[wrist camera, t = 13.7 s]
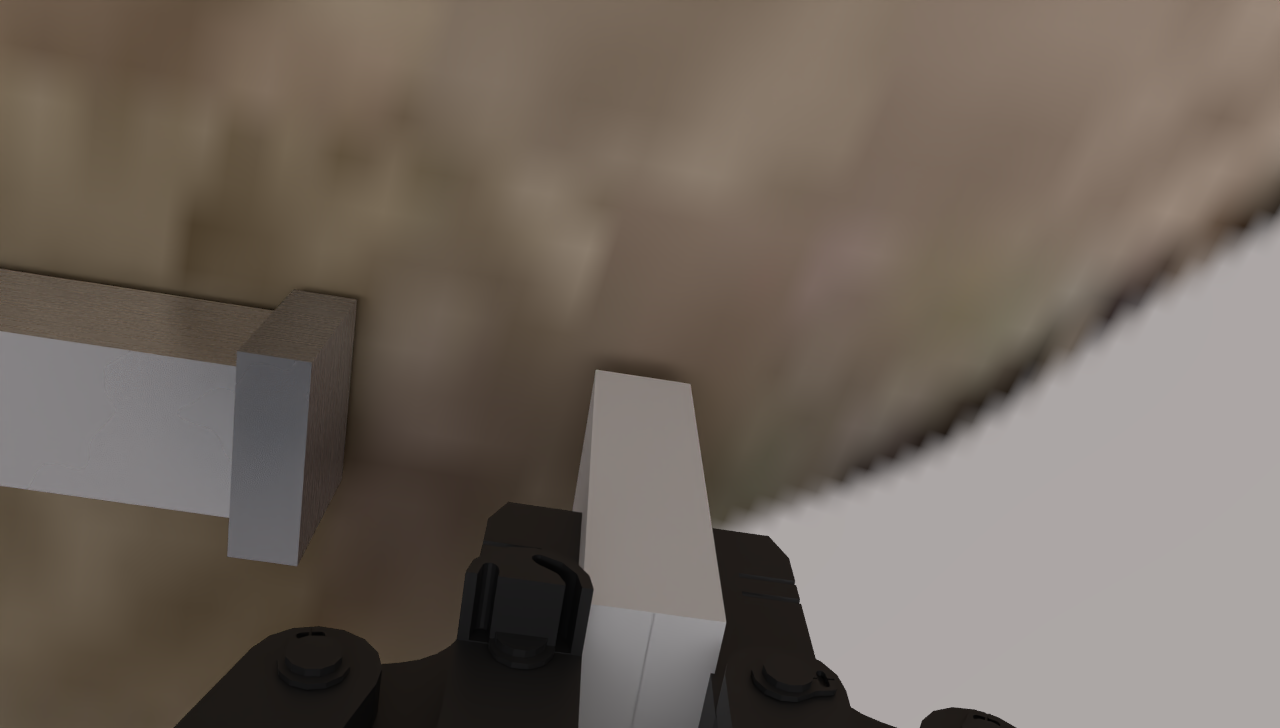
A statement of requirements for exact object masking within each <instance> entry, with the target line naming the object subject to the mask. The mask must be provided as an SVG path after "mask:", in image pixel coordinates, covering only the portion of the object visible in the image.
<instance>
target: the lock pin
mask: <svg viewBox="0 0 1280 728" xmlns="http://www.w3.org/2000/svg"><path fill="white" fill-rule="evenodd" d="M356 307H357V299H351V298H344V297H338V296H332V295H325V294H319V293H312V292H306V291H299V290H293V291H292V292H291V293H290V294H289V295H288V296H287V297H286V298H285V299H284V300H283V301H282V303H281V304H280V305H279V306H278V307H277V308H276V309H275V310H274V311H273V310H266V309H260V308H253V307H247V306H240V305H234V304H227V303H221V302H214V301H208V300H201V299H195V298H188V297H182V296H175V295H169V294H162V293H156V292H149V291H143V290H136V289H130V288H123V287H117V286H110V285H103V284H97V283H90V282H84V281H77V280H71V279H64V278H58V277H51V276H45V275H38V274H32V273H25V272H19V271H12V270H6V269H0V486H6V487H13V488H20V489H28V490H35V491H42V492H49V493H56V494H63V495H70V496H78V497H85V498H92V499H99V500H106V501H113V502H120V503H127V504H135V505H142V506H149V507H156V508H163V509H170V510H177V511H185V512H192V513H199V514H206V515H213V516H220V517H227V518H229V532H228V553H227V557H234V558H241V559H249V560H256V561H263V562H270V563H278V564H285V565H292V566H298V564H299V562H300V560H301V558H302V556H303V554H304V552H305V550H306V548H307V546H308V544H309V542H310V540H311V538H312V536H313V534H314V532H315V530H316V528H317V526H318V525H319V523H320V521H321V519H322V517H323V515H324V513H325V511H326V509H327V507H328V505H329V503H330V501H331V499H332V497H333V495H334V493H335V491H336V489H337V487H338V485H339V484H340V482H341V480H342V471H343V459H344V447H345V436H346V424H347V412H348V401H349V389H350V377H351V365H352V354H353V342H354V330H355V319H356Z"/></svg>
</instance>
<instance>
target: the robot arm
mask: <svg viewBox="0 0 1280 728" xmlns="http://www.w3.org/2000/svg"><path fill="white" fill-rule="evenodd" d="M794 584H795V579H794V576H793V572H792V568H791V565H790V561H789V558H788V557H787V556H786V555H785V554H784V553H783V551H782V550H781V549H780V548H779V547H778V546H777V545H776V544H775V543H774V542H773V541H772V539H771V538H770V537H769V536H762V535H756V534H749V533H742V532H735V531H728V530H721V529H714V528H712V524H711V517H710V511H709V504H708V497H707V491H706V484H705V477H704V471H703V464H702V458H701V451H700V444H699V438H698V431H697V424H696V418H695V411H694V404H693V398H692V391H691V385H690V384H688V383H681V382H675V381H668V380H662V379H655V378H648V377H642V376H635V375H629V374H622V373H615V372H609V371H602V370H596V371H595V377H594V383H593V389H592V395H591V401H590V407H589V413H588V419H587V425H586V431H585V437H584V444H583V450H582V456H581V462H580V468H579V474H578V480H577V486H576V492H575V498H574V504H573V510H572V511H568V510H560V509H553V508H546V507H539V506H532V505H525V504H518V503H511V502H508V503H506V504H505V505H504V506H503V507H502V508H501V509H499V510H498V511H497V512H496V513H495V514H493V515H492V516H491V517H490V518H489V519H488V522H487V527H486V531H485V536H484V540H483V545H482V549H481V553H480V557H478V558H476V559H474V560H473V561H472V563H471V565H470V566H469V568H468V569H467V571H466V574H465V581H464V589H463V597H462V604H461V612H460V619H459V627H458V635H457V640H456V641H455V642H454V643H453V644H452V645H451V646H449V647H448V648H446V649H444V650H443V651H441V652H439V653H438V654H435V655H432V656H429V657H426V658H423V659H421V660H415V661H409V662H403V663H392V664H381V662H380V658H379V654H378V652H377V651H376V650H375V649H374V648H373V647H372V646H371V645H370V644H369V643H368V642H367V641H366V640H365V639H363V638H360V637H358V636H356V635H354V634H351V633H349V632H347V631H345V630H339V629H333V628H326V627H320V626H318V627H304V628H292V629H289V630H286V631H283V632H280V633H277V634H273V635H270V636H268V637H267V638H266V639H264V640H263V641H261V642H260V643H258V644H257V645H255V646H254V647H252V648H251V649H250V650H249V651H248V652H247V653H246V654H245V655H244V656H243V657H242V658H241V659H240V660H239V661H238V663H237V664H236V665H235V666H234V667H233V668H232V669H231V670H230V671H229V672H228V673H227V674H226V675H225V676H224V677H223V678H222V679H221V680H220V681H219V682H218V683H217V684H216V685H215V686H214V687H213V688H212V689H211V690H210V691H209V692H208V693H207V694H206V695H205V696H204V697H203V698H202V699H201V700H200V701H199V702H198V703H197V704H196V705H195V706H194V707H193V708H192V709H191V710H190V711H189V712H188V713H187V715H186V716H185V717H184V718H183V719H182V720H181V721H180V722H179V723H178V724H177V725H176V726H175V727H174V728H896V727H893V726H890V725H888V724H885V723H882V722H879V721H877V720H875V719H872V718H870V717H867V716H865V715H863V714H861V713H860V712H858V711H856V710H855V709H853V708H851V706H850V703H849V700H848V696H847V693H846V690H845V688H844V686H843V685H842V683H841V681H840V679H839V678H838V676H837V675H836V674H835V673H834V672H833V671H832V670H830V669H829V668H828V667H827V666H826V665H824V664H823V663H822V662H821V661H819V660H816V659H815V655H814V651H813V647H812V644H811V640H810V636H809V632H808V628H807V625H806V621H805V617H804V613H803V610H802V606H801V604H799V601H800V598H799V594H798V591H797V587H796V585H794ZM920 728H1016V727H1014V726H1012V725H1011V724H1009V723H1007V722H1005V721H1004V720H1002V719H1000V718H998V717H996V716H993V715H991V714H986V713H984V712H981V711H977V710H972V709H963V708H954V707H951V708H946V709H941V710H937V711H933V712H932V713H931V714H930V715H928V716H927V717H926V718H925V719H924V720H922V723H921V726H920Z"/></svg>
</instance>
